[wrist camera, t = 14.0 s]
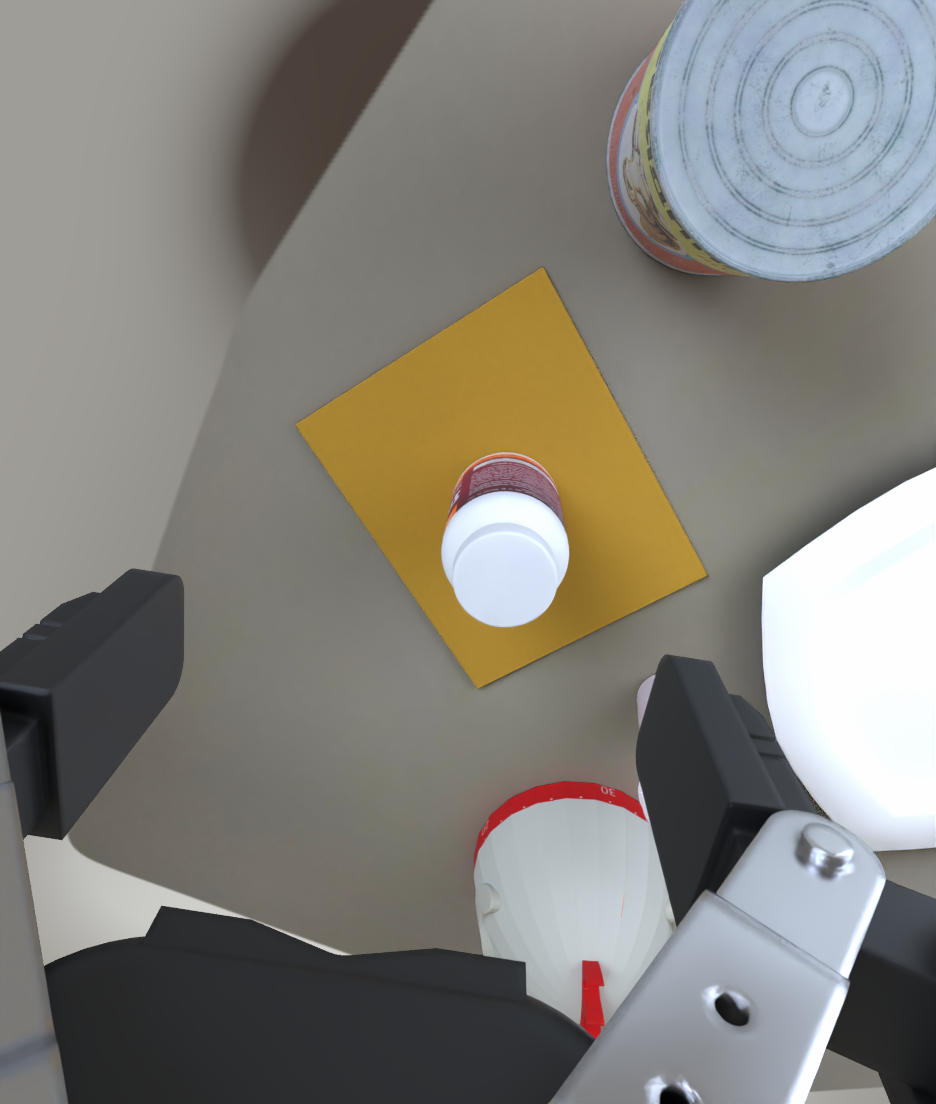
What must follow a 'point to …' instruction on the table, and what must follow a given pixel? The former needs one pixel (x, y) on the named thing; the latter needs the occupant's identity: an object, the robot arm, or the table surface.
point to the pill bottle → (505, 540)
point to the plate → (861, 666)
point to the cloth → (515, 427)
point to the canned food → (779, 137)
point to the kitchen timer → (573, 896)
